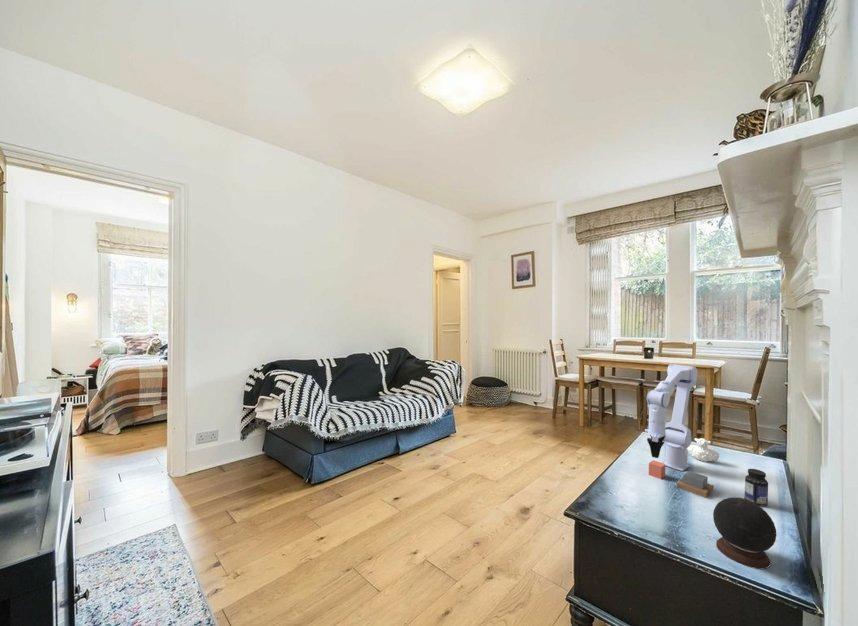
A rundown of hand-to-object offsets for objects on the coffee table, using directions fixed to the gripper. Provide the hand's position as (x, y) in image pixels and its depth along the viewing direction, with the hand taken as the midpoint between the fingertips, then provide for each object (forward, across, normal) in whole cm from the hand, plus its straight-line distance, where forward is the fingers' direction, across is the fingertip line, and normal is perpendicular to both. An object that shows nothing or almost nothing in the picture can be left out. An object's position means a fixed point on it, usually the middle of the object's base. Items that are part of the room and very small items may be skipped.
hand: (655, 454), depth 143 cm
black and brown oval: (+9, +38, +23) cm, 46 cm away
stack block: (+10, -2, 0) cm, 10 cm away
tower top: (+8, +1, +13) cm, 15 cm away
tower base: (+10, +1, +13) cm, 16 cm away
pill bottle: (+10, -1, +30) cm, 32 cm away
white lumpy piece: (+10, -34, +16) cm, 39 cm away
